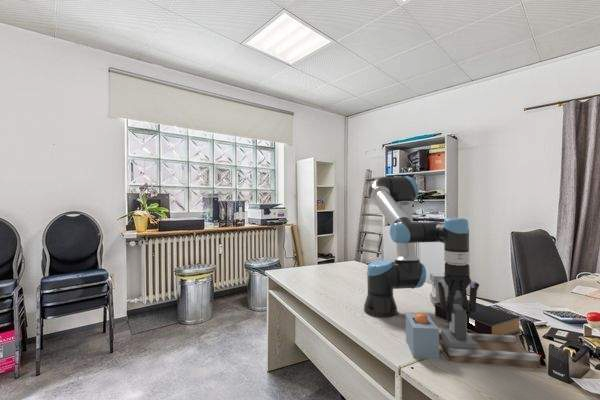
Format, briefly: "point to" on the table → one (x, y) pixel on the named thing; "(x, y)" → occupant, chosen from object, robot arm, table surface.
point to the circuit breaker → (435, 291)
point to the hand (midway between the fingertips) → (458, 331)
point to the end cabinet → (422, 338)
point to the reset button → (420, 318)
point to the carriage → (458, 331)
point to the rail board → (493, 348)
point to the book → (486, 319)
